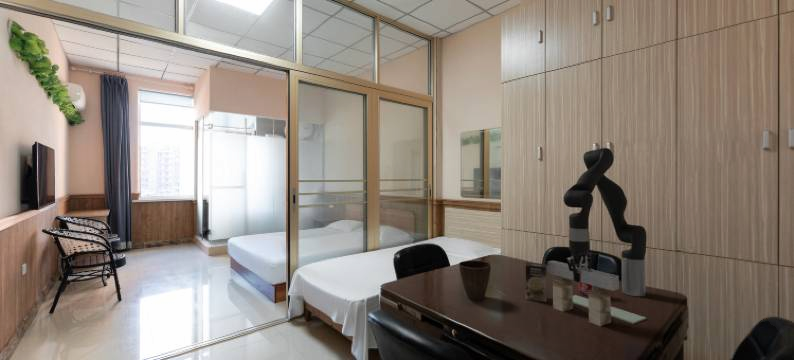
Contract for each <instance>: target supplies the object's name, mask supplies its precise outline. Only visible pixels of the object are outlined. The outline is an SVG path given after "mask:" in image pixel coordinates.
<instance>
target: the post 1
mask: <svg viewBox="0 0 794 360" xmlns="http://www.w3.org/2000/svg"><path fill="white" fill-rule="evenodd" d="M573 291H574V290H573V280H572V279H568V278H565V277H561V281H560V280H557V279H554V278H553V279H552V308H553V309H554V310H557V311H560V312H563V313H564V312H566V311H570V310H572V309H574V303H573V296H574V295H573V293H574V292H573Z"/></svg>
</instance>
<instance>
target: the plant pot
mask: <svg viewBox="0 0 794 360" xmlns="http://www.w3.org/2000/svg"><path fill="white" fill-rule="evenodd" d="M458 266H459V267H458V268H459V273H460V278H461V283H462V285H463V288H464V291H465V294H466V296H467V299H469V298H470V299H469V300H472V299H473V300H472V301H480V300H483V299H484V298H485V294H486V292H487V289H488V285H489V281H490V274H491V266H492V264H491V263H490V262H487V261H482V260H465V261H464V260H463V261H460V262H459V263H458Z"/></svg>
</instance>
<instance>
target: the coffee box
mask: <svg viewBox="0 0 794 360" xmlns="http://www.w3.org/2000/svg"><path fill="white" fill-rule="evenodd" d="M547 285H548V284H547V263H536V262H525V300H530V301H536V302H537V301H538V302H544V303H546V302H547V298H548V297H547V296H548V293H547Z"/></svg>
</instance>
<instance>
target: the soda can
mask: <svg viewBox="0 0 794 360" xmlns="http://www.w3.org/2000/svg"><path fill="white" fill-rule="evenodd" d="M591 269H592V270H594V269H593V268H591ZM578 289H579V293H580V294H581V295H582V296H587V297H588V290H592V291H595V292H597V286H594V285H590V284H586V283H583V282H578Z"/></svg>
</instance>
